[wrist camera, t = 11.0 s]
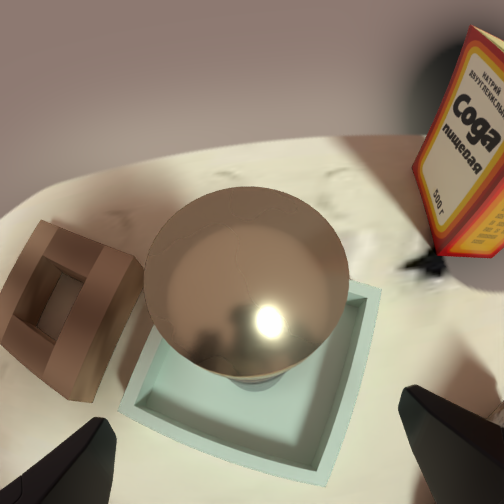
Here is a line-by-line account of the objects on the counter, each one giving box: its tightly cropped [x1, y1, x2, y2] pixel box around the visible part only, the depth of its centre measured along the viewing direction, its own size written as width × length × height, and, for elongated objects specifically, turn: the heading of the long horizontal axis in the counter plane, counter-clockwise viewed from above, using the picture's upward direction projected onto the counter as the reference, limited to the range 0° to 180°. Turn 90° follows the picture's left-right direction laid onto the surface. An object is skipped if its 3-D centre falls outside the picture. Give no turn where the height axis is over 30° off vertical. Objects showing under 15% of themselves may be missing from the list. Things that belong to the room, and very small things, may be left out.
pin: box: [144, 187, 349, 392], centre depth 12 cm, size 4×4×13 cm
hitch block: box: [0, 220, 144, 403], centre depth 18 cm, size 10×10×3 cm
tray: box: [117, 279, 382, 487], centre depth 17 cm, size 12×12×2 cm
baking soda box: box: [412, 25, 504, 258], centre depth 16 cm, size 10×6×16 cm
